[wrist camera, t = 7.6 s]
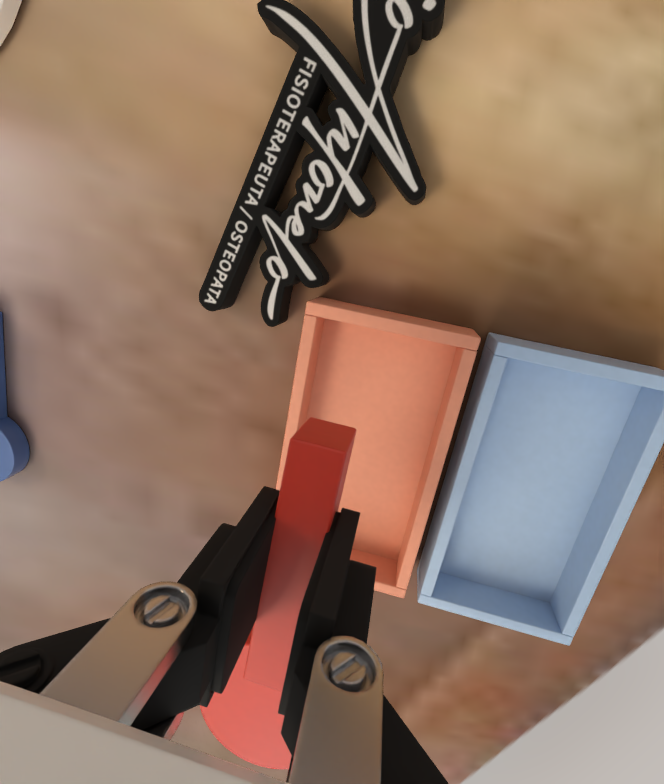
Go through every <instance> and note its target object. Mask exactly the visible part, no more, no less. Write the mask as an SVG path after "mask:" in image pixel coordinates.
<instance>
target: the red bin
mask: <svg viewBox="0 0 664 784" xmlns="http://www.w3.org/2000/svg"><path fill="white" fill-rule="evenodd" d="M480 340H481V338H480V337H479V336H478V334H477V333H476V332H475V331H474V330H473V329H471V328H466V327H461V326H456V325H452V324H447V323H442V322H437V321H433V320H428V319H423V318H418V317H414V316H409V315H404V314H399V313H394V312H390V311H385V310H380V309H375V308H371V307H366V306H361V305H356V304H352V303H347V302H342V301H337V300H332V299H328V298H323V297H318V298H315V299H312V300H309V301H307V303H306V309H305V315H304V321H303V327H302V333H301V339H300V345H299V351H298V357H297V363H296V369H295V376H294V382H293V388H292V394H291V400H290V406H289V412H288V418H287V424H286V430H285V436H284V442H283V448H282V454H281V460H280V466H279V472H278V478H277V484H276V489H277V490H280V487H281V482H282V476H283V471H284V466H285V461H286V456H287V451H288V446H289V441H290V439H291V437H292V436H293V435H294V434H295V433H296V432H297V431H298V430H299V429H300V427H301V426H302V425H303V424H304V423H305V422H306V421H307V420H308V419H309V417H313V418H317V419H321V420H325V421H329V422H333V423H337V424H341V425H345V426H349V427H353V428H355V429H356V435H355V440H354V444H353V448H352V453H351V457H350V461H349V466H348V470H347V474H346V479H345V483H344V488H343V492H342V496H341V501H340V505H339V509H338V512H341V509H342V508H346V509H350V510H353V511H357V512H360V517H359V521H358V526H357V530H356V534H355V539H354V543H353V547H352V552H351V556H350V560H354V561H357V562H361V563H364V564H367V565H371V566H374V567H376V568H377V569H376V577H375V585H374V590H376V591H379V592H383V593H386V594H390V595H393V596H397V597H400V598H404V597H405V594H406V590H407V587H408V584H409V580H410V577H411V574H412V570H413V567H414V563H415V560H416V557H417V553H418V550H419V547H420V543H421V540H422V536H423V533H424V530H425V526H426V523H427V520H428V516H429V513H430V509H431V506H432V503H433V499H434V496H435V492H436V489H437V486H438V482H439V479H440V476H441V472H442V469H443V465H444V462H445V459H446V455H447V452H448V449H449V445H450V442H451V438H452V435H453V432H454V428H455V425H456V422H457V418H458V415H459V411H460V408H461V405H462V401H463V398H464V395H465V391H466V388H467V384H468V381H469V378H470V374H471V371H472V368H473V364H474V361H475V357H476V354H477V350H478V347H479V344H480Z"/></svg>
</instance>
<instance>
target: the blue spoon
mask: <svg viewBox="0 0 664 784" xmlns="http://www.w3.org/2000/svg"><path fill="white" fill-rule="evenodd" d="M29 455H30V451H29V444H28V441H27V438H26V436H25V434H24V433H23V431H22V430H21V428H20V427H19V426H18V425H17V424H16V423H15V422H14V421H13V420H12V419H10V418H9V417H7V397H6V377H5V357H4V337H3V316H2V312H1V311H0V481H3V480H5V479H7V478H9V477H11V476H13V475H15V474H16V473H18V472H20V471H21V470H23V469H24V468H25V466H26V465H27V463H28V460H29Z"/></svg>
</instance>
